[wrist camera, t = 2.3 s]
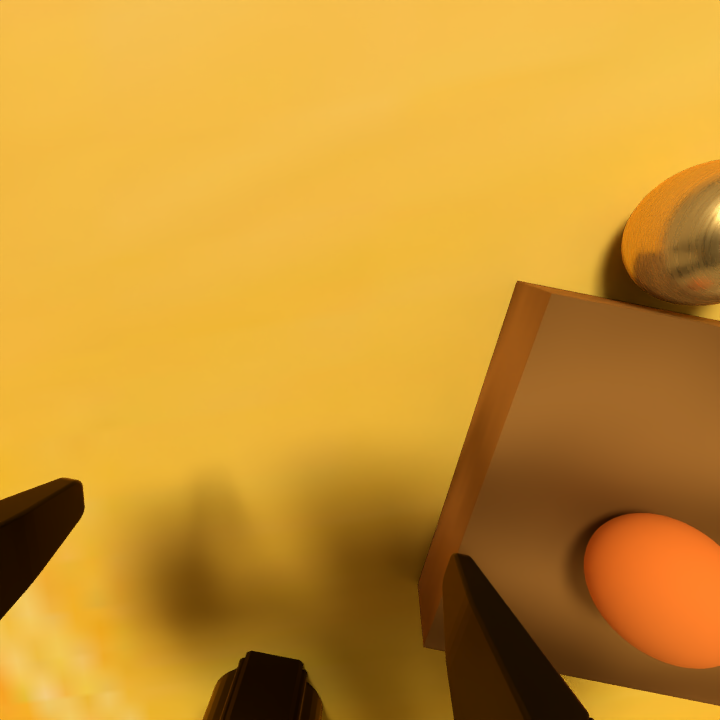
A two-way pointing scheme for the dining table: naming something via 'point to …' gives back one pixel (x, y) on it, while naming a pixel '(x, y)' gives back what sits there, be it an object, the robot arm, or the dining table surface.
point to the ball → (658, 587)
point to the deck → (582, 470)
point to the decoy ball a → (678, 238)
